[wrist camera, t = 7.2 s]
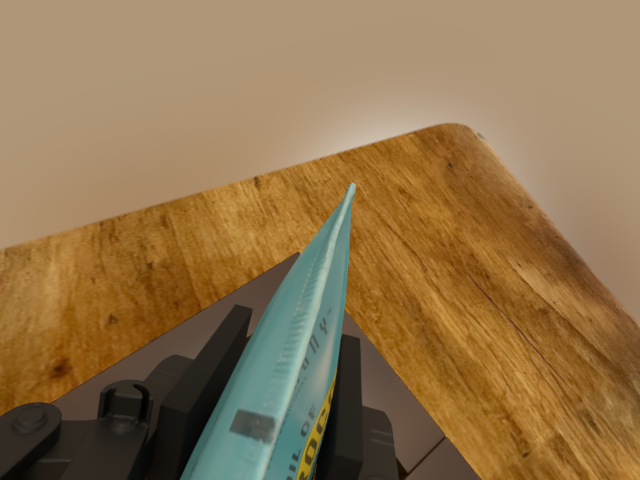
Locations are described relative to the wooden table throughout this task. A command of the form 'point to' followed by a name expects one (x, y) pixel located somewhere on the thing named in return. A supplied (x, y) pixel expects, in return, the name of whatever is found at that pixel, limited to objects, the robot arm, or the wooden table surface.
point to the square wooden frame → (191, 336)
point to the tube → (284, 372)
